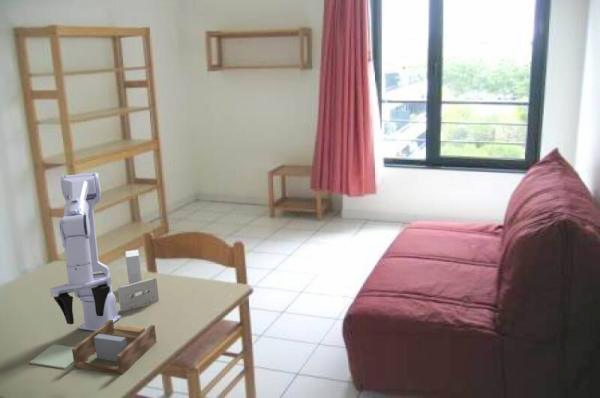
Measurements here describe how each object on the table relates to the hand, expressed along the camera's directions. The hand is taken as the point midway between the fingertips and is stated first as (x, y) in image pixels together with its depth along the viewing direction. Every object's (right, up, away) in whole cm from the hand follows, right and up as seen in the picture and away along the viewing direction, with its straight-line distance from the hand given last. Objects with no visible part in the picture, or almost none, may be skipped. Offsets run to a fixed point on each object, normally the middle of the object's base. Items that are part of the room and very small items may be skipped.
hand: (85, 319), depth 142 cm
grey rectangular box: (+4, -12, +9) cm, 15 cm away
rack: (+4, -11, +11) cm, 16 cm away
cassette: (+3, -4, +38) cm, 39 cm away
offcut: (+6, -10, +16) cm, 20 cm away
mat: (-10, -12, +10) cm, 19 cm away
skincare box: (-2, 0, +52) cm, 52 cm away
